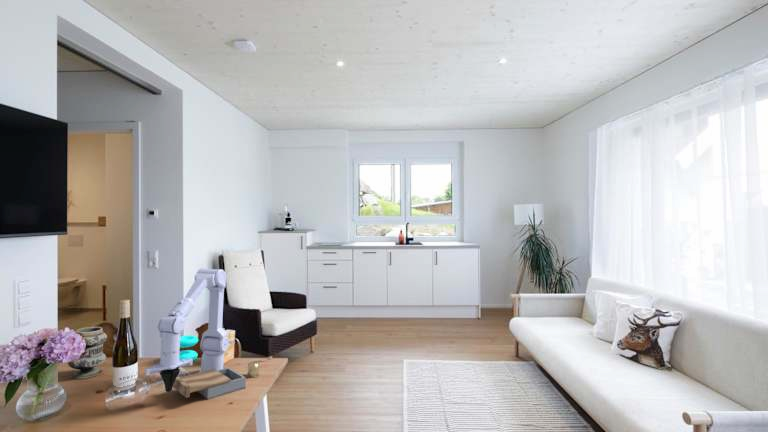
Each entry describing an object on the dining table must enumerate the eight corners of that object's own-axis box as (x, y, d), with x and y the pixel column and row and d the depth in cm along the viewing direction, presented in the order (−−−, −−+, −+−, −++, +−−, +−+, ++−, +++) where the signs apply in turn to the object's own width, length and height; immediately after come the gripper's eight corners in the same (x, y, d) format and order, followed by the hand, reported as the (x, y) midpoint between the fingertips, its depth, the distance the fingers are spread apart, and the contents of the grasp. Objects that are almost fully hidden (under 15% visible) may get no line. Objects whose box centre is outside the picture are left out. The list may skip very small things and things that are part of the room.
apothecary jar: (101, 377, 149) (104, 331, 149) (62, 382, 144) (65, 334, 144) (108, 367, 160) (110, 324, 160) (72, 371, 154) (74, 326, 155)
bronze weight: (245, 375, 155) (245, 363, 155) (255, 372, 158) (255, 360, 158) (250, 378, 152) (251, 366, 152) (260, 375, 155) (261, 363, 155)
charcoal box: (192, 387, 142) (192, 376, 142) (228, 377, 153) (228, 367, 153) (207, 399, 133) (208, 388, 133) (245, 388, 143) (245, 377, 143)
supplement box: (223, 364, 166) (224, 334, 167) (213, 363, 167) (215, 333, 167) (234, 358, 174) (235, 330, 175) (225, 357, 175) (226, 329, 176)
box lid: (170, 384, 137) (171, 375, 137) (214, 373, 149) (214, 364, 149) (185, 397, 127) (186, 387, 127) (230, 384, 139) (231, 375, 139)
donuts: (168, 340, 166) (182, 334, 176) (167, 363, 166) (181, 355, 176) (190, 341, 166) (202, 335, 175) (189, 364, 165) (202, 357, 175)
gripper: (150, 358, 122) (148, 401, 122) (196, 349, 133) (195, 388, 133) (143, 353, 127) (141, 394, 127) (189, 344, 138) (187, 382, 137)
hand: (168, 390), depth 130 cm, fingers closed
